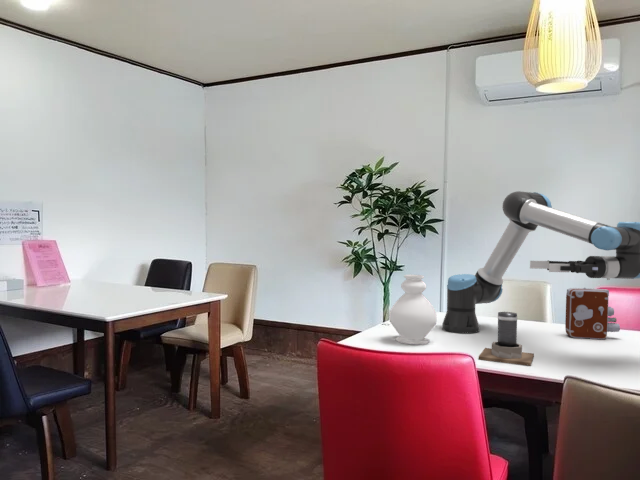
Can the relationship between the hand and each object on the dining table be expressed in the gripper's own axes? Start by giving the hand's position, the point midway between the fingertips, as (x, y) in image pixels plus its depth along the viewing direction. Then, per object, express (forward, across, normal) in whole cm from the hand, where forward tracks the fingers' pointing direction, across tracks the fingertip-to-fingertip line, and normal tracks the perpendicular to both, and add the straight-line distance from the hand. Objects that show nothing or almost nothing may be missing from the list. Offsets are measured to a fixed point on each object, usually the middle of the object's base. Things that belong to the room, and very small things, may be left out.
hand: (539, 266), depth 172 cm
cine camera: (-38, +31, -31) cm, 58 cm away
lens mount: (+11, -2, -31) cm, 33 cm away
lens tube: (+11, -2, -30) cm, 32 cm away
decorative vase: (+37, +23, -31) cm, 54 cm away
